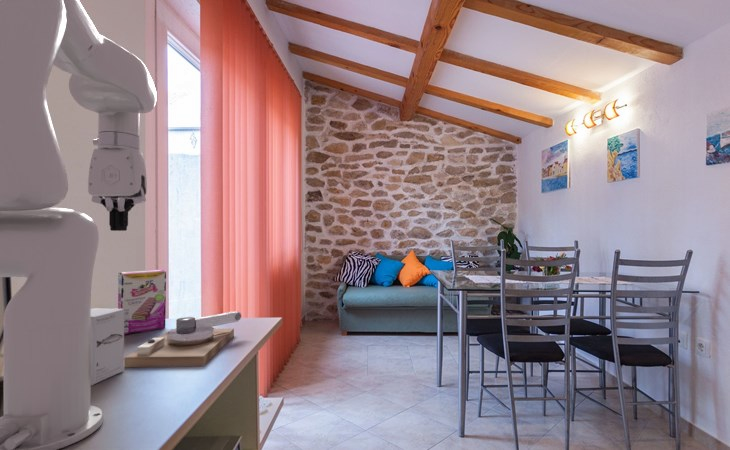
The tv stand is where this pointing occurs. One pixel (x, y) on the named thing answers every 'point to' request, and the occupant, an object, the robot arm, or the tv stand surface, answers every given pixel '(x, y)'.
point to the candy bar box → (142, 300)
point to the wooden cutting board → (177, 352)
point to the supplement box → (106, 343)
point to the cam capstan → (198, 328)
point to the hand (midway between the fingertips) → (118, 230)
